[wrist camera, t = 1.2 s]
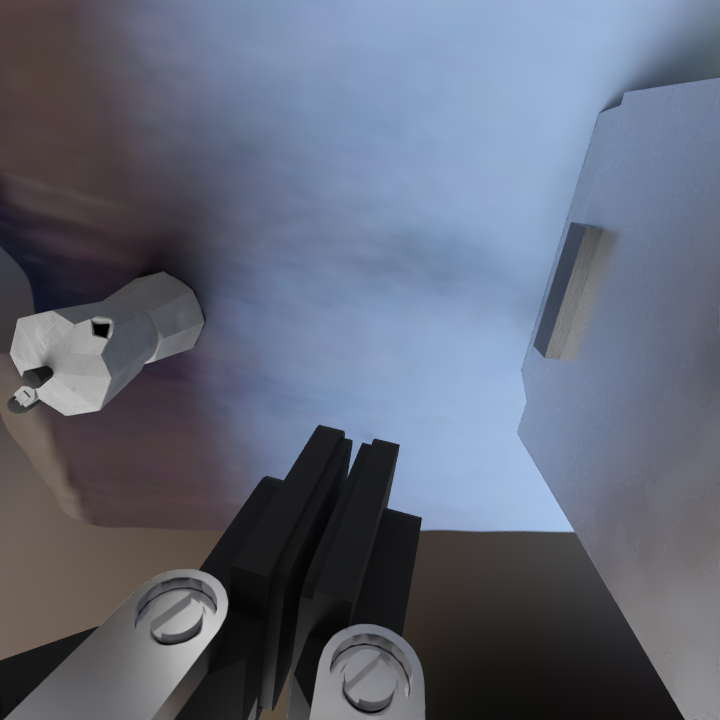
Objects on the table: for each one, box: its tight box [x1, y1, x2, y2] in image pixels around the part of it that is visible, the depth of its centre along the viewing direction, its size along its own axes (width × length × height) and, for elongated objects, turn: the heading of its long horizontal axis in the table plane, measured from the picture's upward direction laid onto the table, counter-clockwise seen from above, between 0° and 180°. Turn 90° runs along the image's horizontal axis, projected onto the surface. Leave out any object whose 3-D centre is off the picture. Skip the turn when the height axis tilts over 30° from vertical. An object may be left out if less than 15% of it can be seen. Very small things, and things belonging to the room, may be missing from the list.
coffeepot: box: [7, 272, 204, 416], centre depth 46 cm, size 15×9×18 cm, turn 127°
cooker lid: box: [517, 78, 720, 720], centre depth 21 cm, size 22×22×3 cm
